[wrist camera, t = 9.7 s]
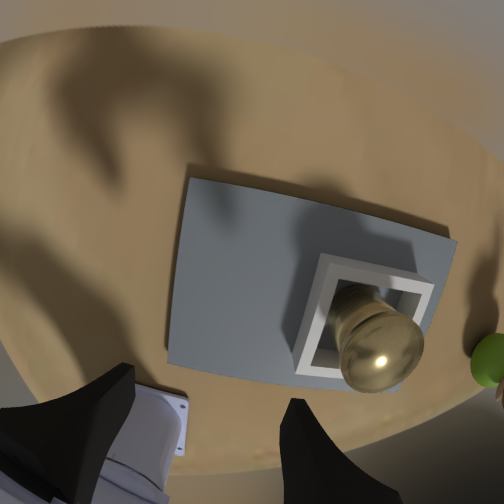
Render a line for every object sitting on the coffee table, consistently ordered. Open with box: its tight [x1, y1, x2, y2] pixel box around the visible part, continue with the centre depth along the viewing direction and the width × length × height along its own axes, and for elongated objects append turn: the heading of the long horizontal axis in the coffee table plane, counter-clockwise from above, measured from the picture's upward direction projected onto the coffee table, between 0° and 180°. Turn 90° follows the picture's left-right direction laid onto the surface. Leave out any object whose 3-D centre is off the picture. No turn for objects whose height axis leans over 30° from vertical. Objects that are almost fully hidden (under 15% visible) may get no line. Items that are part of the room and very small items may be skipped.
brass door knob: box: [326, 284, 424, 393], centre depth 17 cm, size 5×5×6 cm
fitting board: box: [167, 177, 457, 392], centre depth 19 cm, size 14×20×4 cm
